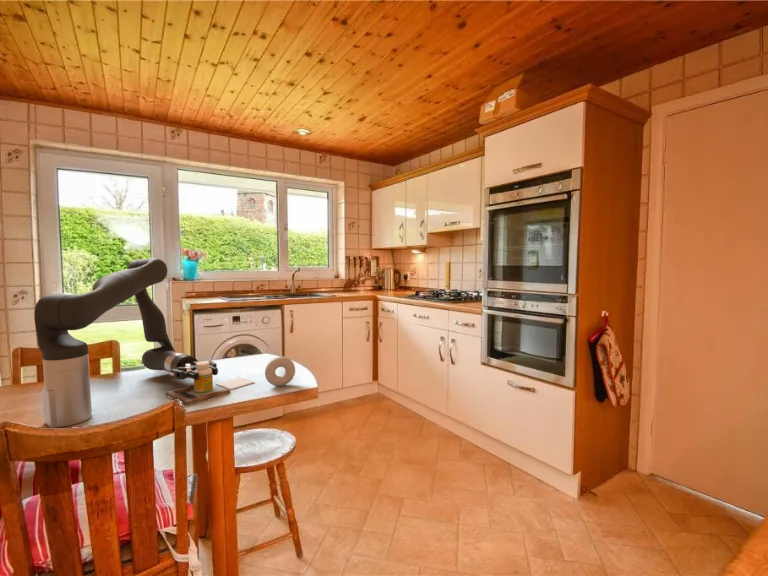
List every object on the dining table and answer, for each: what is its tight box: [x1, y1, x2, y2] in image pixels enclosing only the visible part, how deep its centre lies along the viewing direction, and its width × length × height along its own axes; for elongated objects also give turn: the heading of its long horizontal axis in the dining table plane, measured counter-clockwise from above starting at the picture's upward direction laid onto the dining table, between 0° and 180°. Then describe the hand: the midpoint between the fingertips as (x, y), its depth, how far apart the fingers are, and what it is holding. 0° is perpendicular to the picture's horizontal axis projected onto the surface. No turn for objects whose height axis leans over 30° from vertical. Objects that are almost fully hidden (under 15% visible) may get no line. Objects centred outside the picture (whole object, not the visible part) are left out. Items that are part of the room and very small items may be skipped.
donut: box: [264, 356, 296, 387], centre depth 129 cm, size 10×4×10 cm, turn 116°
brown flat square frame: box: [165, 384, 231, 407], centre depth 121 cm, size 14×14×1 cm
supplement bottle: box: [193, 360, 214, 396], centre depth 122 cm, size 5×5×10 cm
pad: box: [215, 376, 255, 391], centre depth 131 cm, size 9×9×1 cm
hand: (207, 374), depth 121 cm, fingers closed on supplement bottle, 5 cm apart
